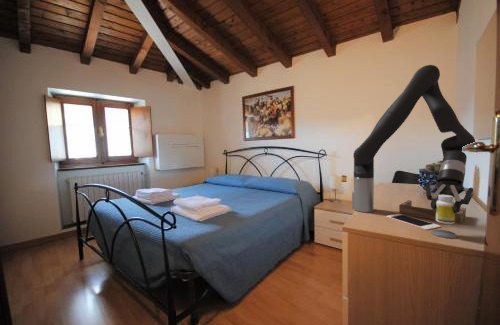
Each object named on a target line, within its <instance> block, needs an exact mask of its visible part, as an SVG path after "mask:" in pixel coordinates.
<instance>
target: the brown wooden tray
mask: <svg viewBox="0 0 500 325" xmlns="http://www.w3.org/2000/svg"><path fill="white" fill-rule="evenodd" d="M412 202H413V201H412V200H411V199H407V200H406V201H404V202H402V203H401V204H399V205H398V207H399V208H398V211H399V212H398V214H402V215H406V216H414V217H419V218H425V219H430V220H435V221H436V210H433V209H432V208H427V207H426V208H425V207H419V206H413V203H412ZM466 213H467V208H466V207H462V206H461V208H460V212H457V213H455V223H454V224H458V225H461V224H462V223H463V221H464V220H465V219H466V217H467V215H466Z"/></svg>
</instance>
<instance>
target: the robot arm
mask: <svg viewBox="0 0 500 325" xmlns="http://www.w3.org/2000/svg"><path fill="white" fill-rule="evenodd" d="M440 77H441V73H440V69H439V68H438V66H436V65H433V64H427V65H424V66H422V67H420V68H419V69H417V70H416V71H415V73H414V75H413V76H412V77H411V79H410V80H409V82H408V84H407V85H406V86H405V89H404V90H403V91H402V92H401V94H399V96H398V97H397V98H396V99H395V100H394V101H393V103H391V105H390V106H389V107H388V108H387V109H386V110H385V112H384V113H383V114H382V115H381V117H380V118H379V119H378V121H377V122H376V124H375V126H374V127H373V129H372V130H371V133H370V134H369V135H368V137H367V138H366V139H365V140H364V141H363V142H362V143H361V144H360V145H359V146H358V147H357V148H355V150H354V151H353V190H352V192H351V210H354V211H356V212H360V213H372V212H374V208H375V206H374V204H375V202H374V201H375V200H374V199H375V198H374V197H375V196H374V194H375V192H374V188H375V187H374V186H375V185H374V184H375V178H374V177H375V175H374V174H375V168H374V167H375V164H374V163H375V157H376V155H377V153H378V151H379V150H380V149H381V148H382V146H383V145H384V143H386V141H388V140H389V139H390V138H391V137H392V136H393V135H394V134H395V133H396V132H397V131H398V130H399V128H401V126H402V125H403V124H404V122H406V120H407V119H408V118H409V116H410V114H411V113H412V112H413V109H414V108H415V106H416V105H417V103H418V101H419V100H420V99H421V98H423V100H424V101H425V103H426V105H427V107H428V109H429V111H430V113H431V116H432V118H433V121H434V122H435V124H436V126H437V128H438V130H439V132H440V133H443V134H444V133H451V132H452V133H453V134H455V135H453V136H450V137H447V138H445V139H443V140H442V142H441V144H440V148H441V150H442V157H443V158H442V162H441V166H440V167H439V172H438V176H437V180H436V183H434V184H429V183H427V184H425V196H426V199H427V200H428V201H430V209H433V210H436V202H437V201H439V199H438V196H439V195H450V196H453V200H455V201H454V203H455V205H454V213H457V212H460V209H461V207H462V205H468V206H469V204H470V202H471V200H472V198H473V196H474V195H475V191H474V187H469V188H467V187H464V182H465V176H466V166H467V165H466V164H467V155H466V153H465V152H464V151H462V147H463V146H465V145H467V144H470V143H473V142H475V143H476V139H475V137H474V135H472V133H471V132H469V131H468V130H467V129H466V128H465V127H464V125H462V124H461V122H460V120H459V117H458V116H457V114H456V112H455V111H454V109H453V108H452V106H451V105H450V104H449V102H448V101H447V99H446V98H445V97H444V95H443V93H442V91H441V88H440V85H439V80H440ZM434 189H435V192H434V194H433V195H432V191H434ZM463 192H464V194H465V195H464V197H463V198H461V197H460V194H461V193H463Z"/></svg>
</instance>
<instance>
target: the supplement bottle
mask: <svg viewBox="0 0 500 325" xmlns="http://www.w3.org/2000/svg"><path fill="white" fill-rule="evenodd" d="M438 199H439V200H438V201H437V202H436V220H435V221H436V222H437V223H440V224H445V225H453V224H456V223H455V213H454V205H455V201H454V202H453V200H454V197H453V196H450V195H439V196H438Z"/></svg>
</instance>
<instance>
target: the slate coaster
mask: <svg viewBox="0 0 500 325" xmlns="http://www.w3.org/2000/svg"><path fill="white" fill-rule="evenodd" d="M431 234H432V235H434V236H436V237H439V238H444V239H451V240H452V239H456V238H458V235H457V234H456V233H455V232H452V231H449V230H445V229H431Z"/></svg>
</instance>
